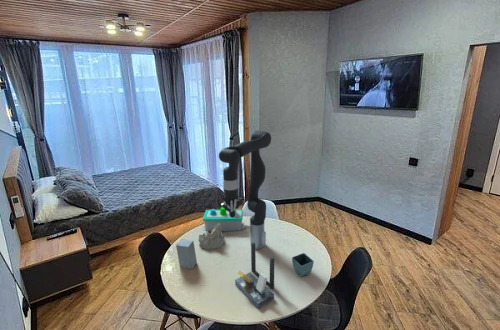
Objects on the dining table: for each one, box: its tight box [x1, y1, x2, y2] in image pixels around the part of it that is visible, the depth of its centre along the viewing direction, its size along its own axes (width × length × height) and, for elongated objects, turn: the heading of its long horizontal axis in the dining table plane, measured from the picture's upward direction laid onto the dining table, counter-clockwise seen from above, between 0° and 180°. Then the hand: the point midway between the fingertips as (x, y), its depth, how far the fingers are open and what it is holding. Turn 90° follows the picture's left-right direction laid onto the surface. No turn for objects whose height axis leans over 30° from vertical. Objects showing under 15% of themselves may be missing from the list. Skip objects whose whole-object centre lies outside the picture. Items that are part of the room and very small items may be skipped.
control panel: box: [202, 206, 245, 232], centre depth 196 cm, size 15×16×30 cm
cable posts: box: [250, 243, 276, 290], centre depth 143 cm, size 2×18×18 cm, turn 36°
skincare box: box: [175, 238, 198, 270], centre depth 155 cm, size 8×7×16 cm
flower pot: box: [291, 252, 315, 277], centre depth 148 cm, size 9×9×9 cm
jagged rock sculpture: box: [198, 224, 225, 250], centre depth 178 cm, size 16×16×15 cm
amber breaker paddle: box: [237, 270, 252, 283], centre depth 137 cm, size 2×4×8 cm
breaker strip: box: [234, 271, 275, 310], centre depth 136 cm, size 10×20×5 cm, turn 36°
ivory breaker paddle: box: [256, 272, 268, 293], centre depth 132 cm, size 2×4×8 cm, turn 37°
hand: (232, 216), depth 143 cm, fingers closed
